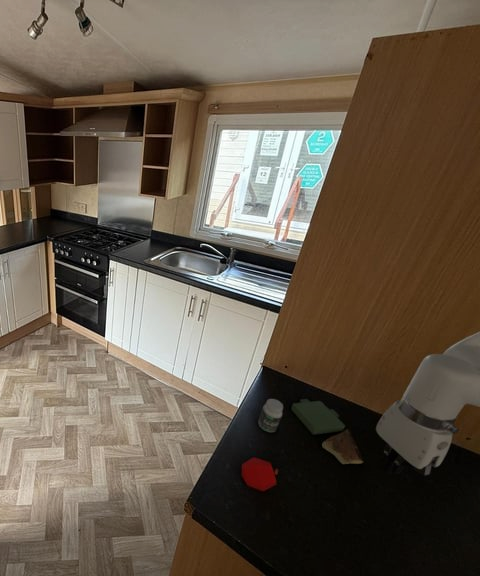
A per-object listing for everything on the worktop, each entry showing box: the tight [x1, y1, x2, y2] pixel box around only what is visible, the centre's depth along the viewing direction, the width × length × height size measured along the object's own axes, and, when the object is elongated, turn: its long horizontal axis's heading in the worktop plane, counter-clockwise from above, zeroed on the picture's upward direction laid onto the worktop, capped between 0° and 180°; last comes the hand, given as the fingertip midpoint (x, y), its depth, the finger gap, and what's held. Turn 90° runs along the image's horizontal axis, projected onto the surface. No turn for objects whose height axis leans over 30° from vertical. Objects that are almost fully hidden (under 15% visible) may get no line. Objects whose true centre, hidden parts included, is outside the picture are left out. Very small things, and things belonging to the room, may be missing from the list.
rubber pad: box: [290, 398, 346, 435], centre depth 90 cm, size 10×10×2 cm
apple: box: [240, 457, 279, 492], centre depth 72 cm, size 7×7×8 cm
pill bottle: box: [258, 398, 284, 433], centre depth 86 cm, size 5×5×8 cm
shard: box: [321, 428, 364, 465], centre depth 81 cm, size 11×8×2 cm
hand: (388, 469), depth 70 cm, fingers closed
